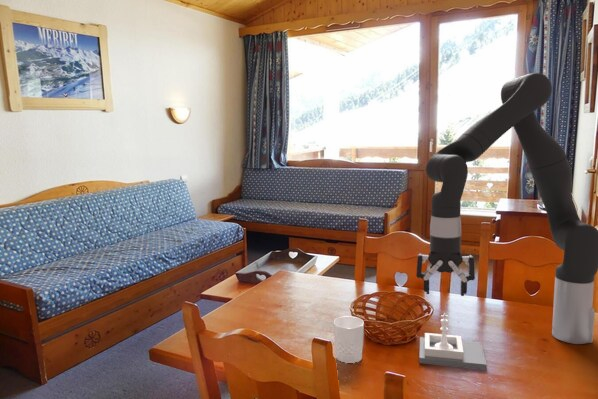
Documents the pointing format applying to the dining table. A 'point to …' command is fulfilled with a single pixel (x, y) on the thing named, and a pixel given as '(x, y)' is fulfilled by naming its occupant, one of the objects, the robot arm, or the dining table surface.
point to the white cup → (348, 338)
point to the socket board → (451, 352)
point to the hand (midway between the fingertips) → (444, 294)
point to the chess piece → (444, 334)
